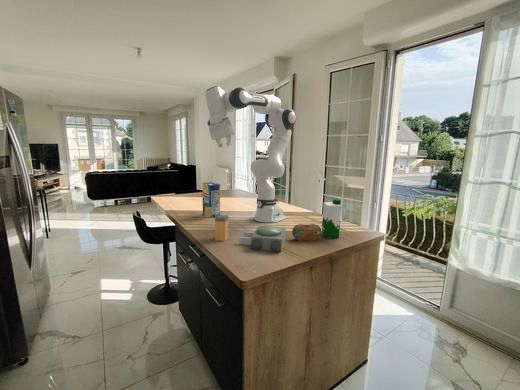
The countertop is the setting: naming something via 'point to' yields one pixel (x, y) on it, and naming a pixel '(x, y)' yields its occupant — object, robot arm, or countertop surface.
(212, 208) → the beverage box
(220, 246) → the countertop surface
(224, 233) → the orange gray block
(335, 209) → the milk carton
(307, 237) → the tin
